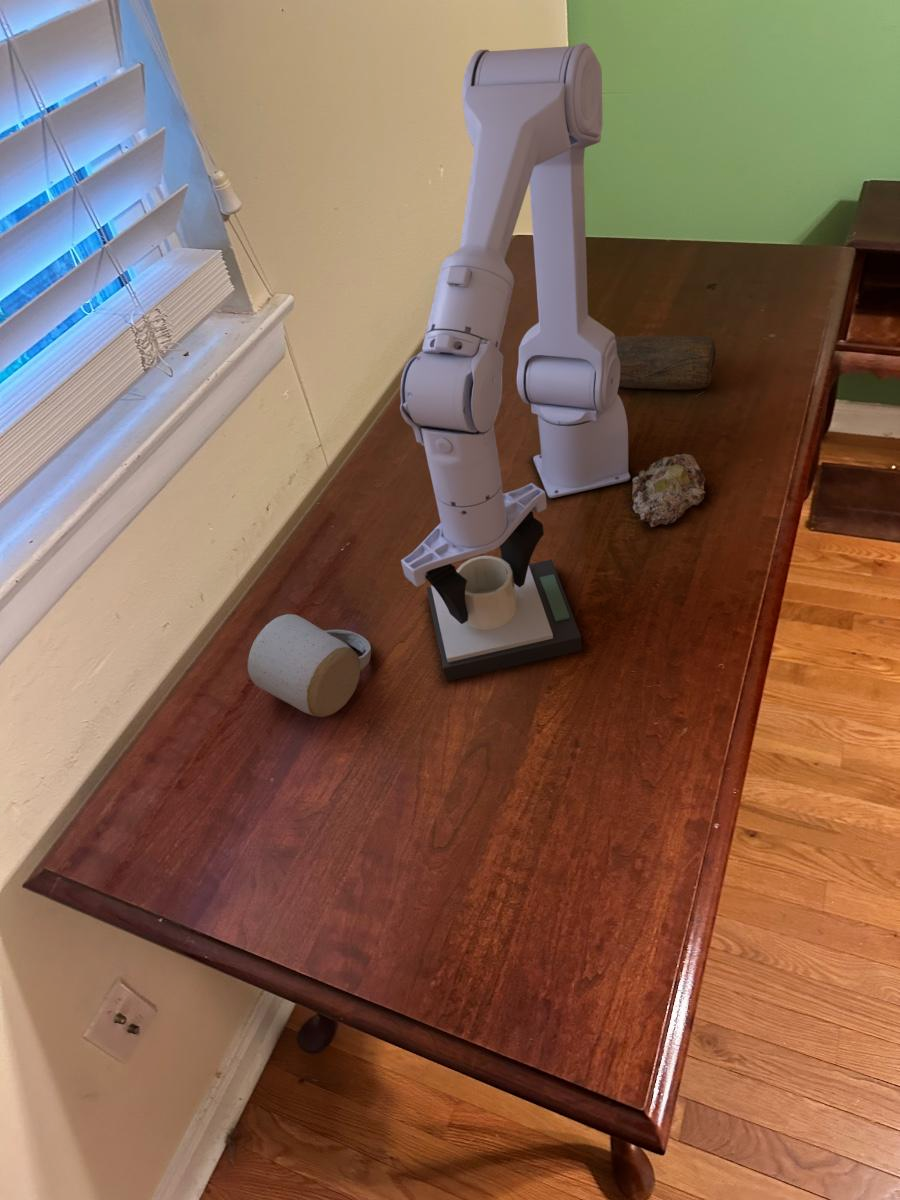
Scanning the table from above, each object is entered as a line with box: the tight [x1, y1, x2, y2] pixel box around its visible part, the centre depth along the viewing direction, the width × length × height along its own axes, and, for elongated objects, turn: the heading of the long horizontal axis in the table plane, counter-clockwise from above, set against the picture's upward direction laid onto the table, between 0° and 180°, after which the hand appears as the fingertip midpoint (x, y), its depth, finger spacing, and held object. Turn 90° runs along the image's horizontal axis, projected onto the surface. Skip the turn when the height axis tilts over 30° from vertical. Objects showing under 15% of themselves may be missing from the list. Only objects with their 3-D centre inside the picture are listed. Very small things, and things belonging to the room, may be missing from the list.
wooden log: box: [615, 335, 717, 391], centre depth 106 cm, size 15×7×7 cm, turn 75°
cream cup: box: [456, 555, 517, 630], centre depth 80 cm, size 5×5×4 cm
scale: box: [426, 559, 583, 682], centre depth 83 cm, size 13×11×3 cm
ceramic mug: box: [247, 613, 372, 718], centre depth 79 cm, size 11×8×8 cm
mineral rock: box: [631, 453, 707, 528], centre depth 92 cm, size 11×4×8 cm
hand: (487, 598), depth 81 cm, fingers open, 6 cm apart
